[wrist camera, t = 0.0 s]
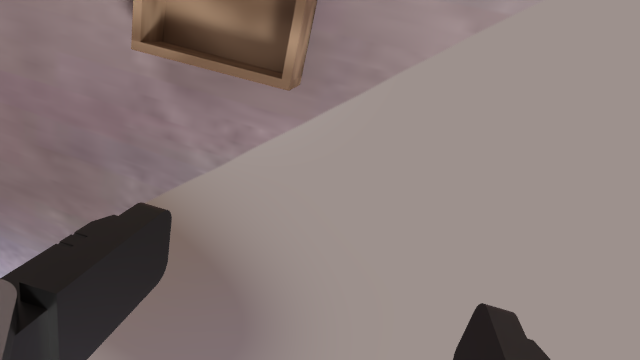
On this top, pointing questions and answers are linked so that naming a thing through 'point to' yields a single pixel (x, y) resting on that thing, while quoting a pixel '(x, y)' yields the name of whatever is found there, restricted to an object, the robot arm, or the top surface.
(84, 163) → the top surface
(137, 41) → the big crate
